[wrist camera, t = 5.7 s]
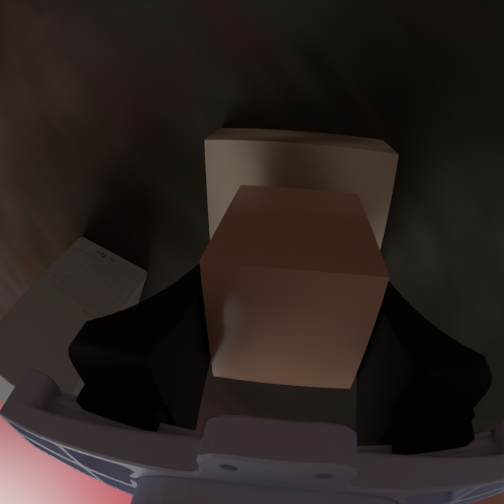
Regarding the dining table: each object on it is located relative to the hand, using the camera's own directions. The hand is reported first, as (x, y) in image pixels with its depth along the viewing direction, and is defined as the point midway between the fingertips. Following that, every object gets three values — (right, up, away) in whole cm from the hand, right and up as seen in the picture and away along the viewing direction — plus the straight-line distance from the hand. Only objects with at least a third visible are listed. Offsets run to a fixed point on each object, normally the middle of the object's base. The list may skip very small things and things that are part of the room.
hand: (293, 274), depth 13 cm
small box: (-14, -2, +12) cm, 18 cm away
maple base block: (+1, +4, +6) cm, 7 cm away
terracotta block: (0, +1, +2) cm, 2 cm away
